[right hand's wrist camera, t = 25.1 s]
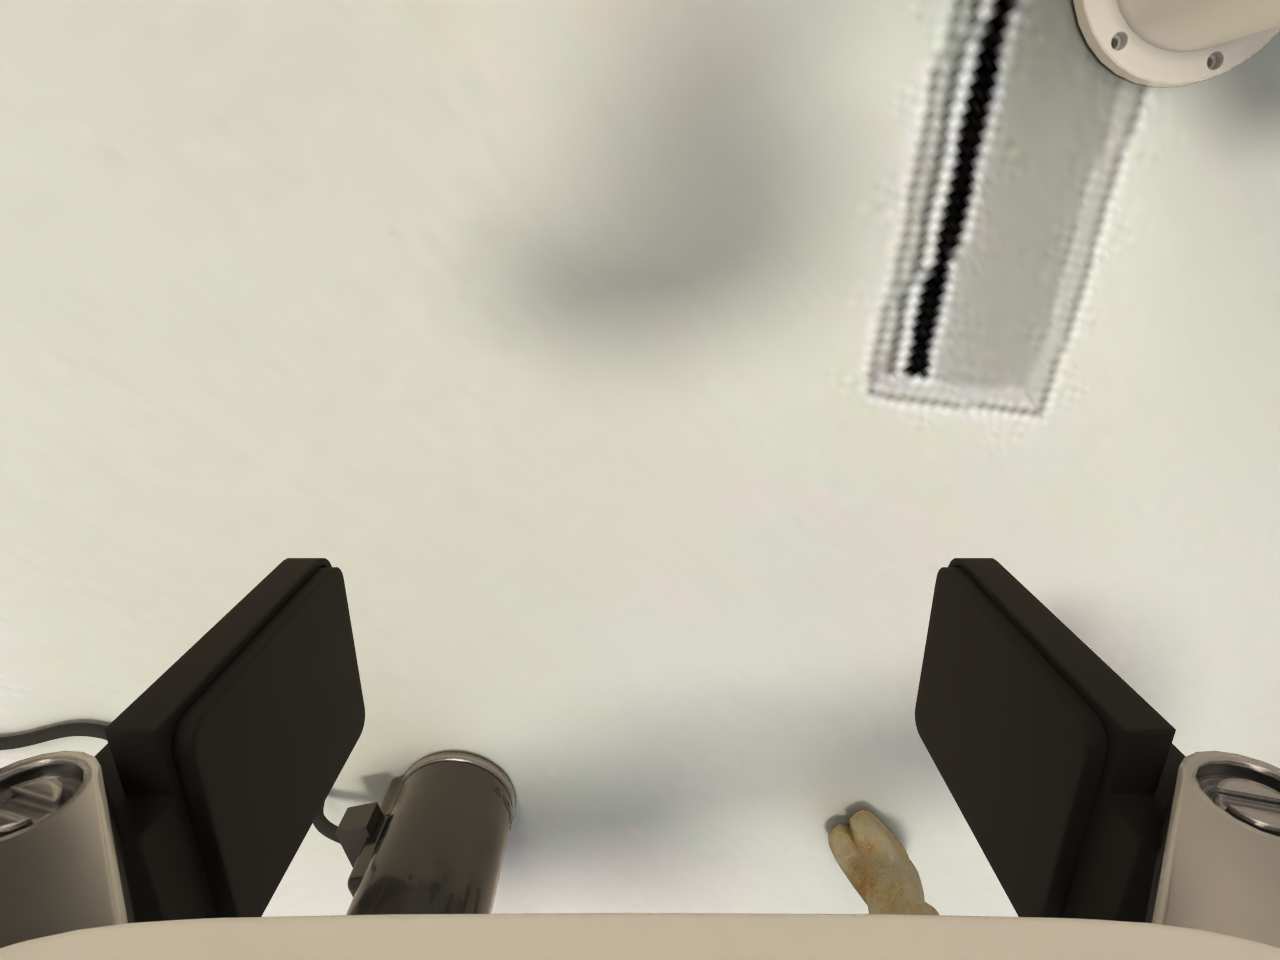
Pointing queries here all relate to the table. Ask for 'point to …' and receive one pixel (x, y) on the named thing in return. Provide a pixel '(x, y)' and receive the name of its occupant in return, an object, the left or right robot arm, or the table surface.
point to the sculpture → (878, 867)
